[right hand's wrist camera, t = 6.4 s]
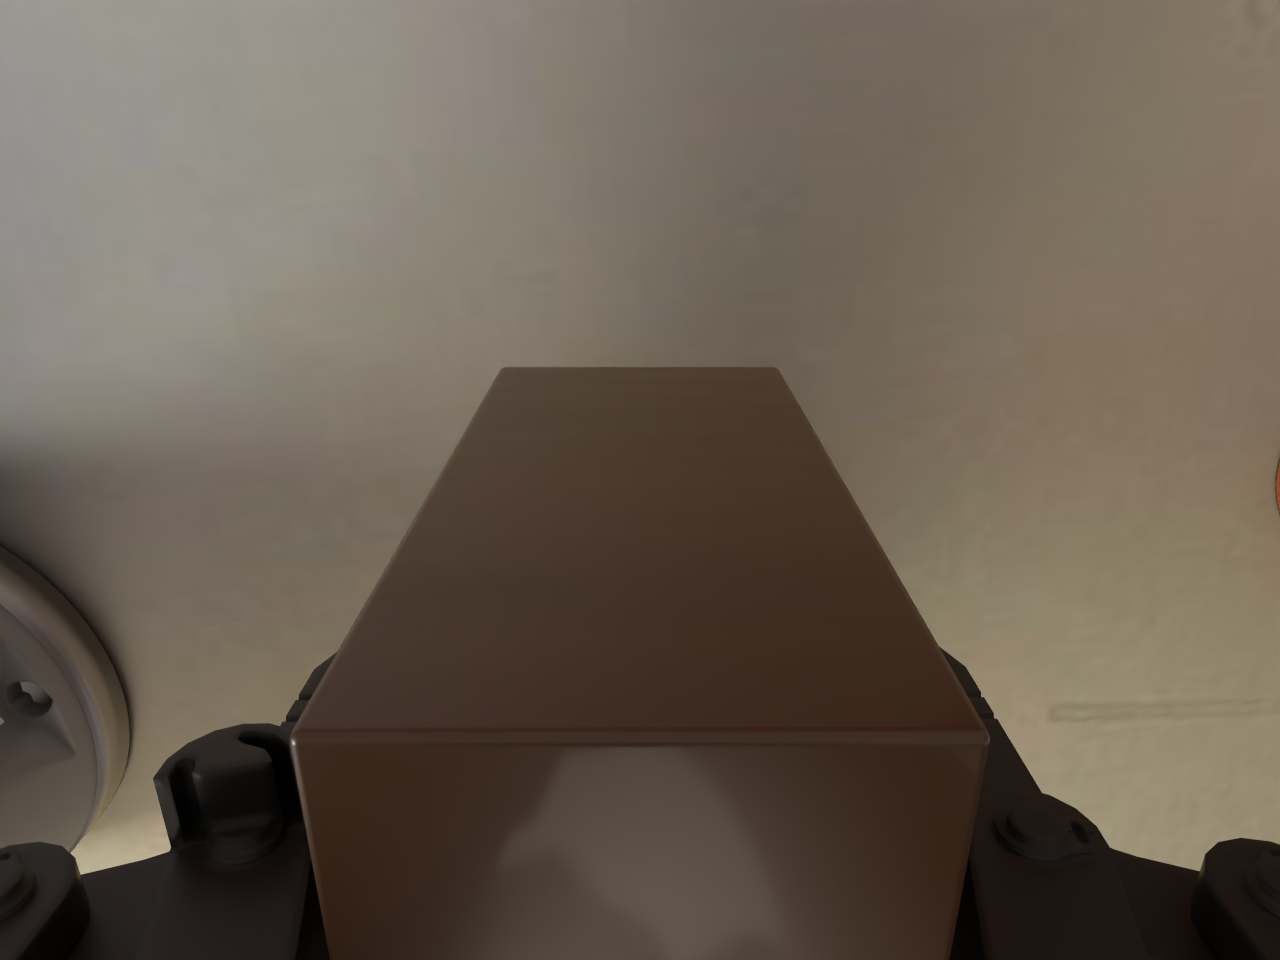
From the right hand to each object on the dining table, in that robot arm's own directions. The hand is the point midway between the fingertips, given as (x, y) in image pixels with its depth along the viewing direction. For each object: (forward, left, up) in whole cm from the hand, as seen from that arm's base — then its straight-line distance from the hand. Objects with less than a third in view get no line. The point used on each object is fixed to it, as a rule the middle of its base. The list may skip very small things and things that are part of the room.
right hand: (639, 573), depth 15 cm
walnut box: (-8, -5, 0) cm, 10 cm away
